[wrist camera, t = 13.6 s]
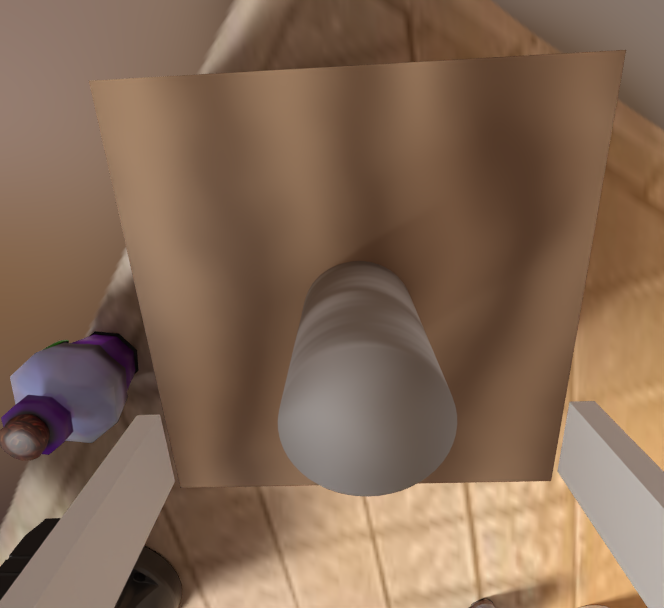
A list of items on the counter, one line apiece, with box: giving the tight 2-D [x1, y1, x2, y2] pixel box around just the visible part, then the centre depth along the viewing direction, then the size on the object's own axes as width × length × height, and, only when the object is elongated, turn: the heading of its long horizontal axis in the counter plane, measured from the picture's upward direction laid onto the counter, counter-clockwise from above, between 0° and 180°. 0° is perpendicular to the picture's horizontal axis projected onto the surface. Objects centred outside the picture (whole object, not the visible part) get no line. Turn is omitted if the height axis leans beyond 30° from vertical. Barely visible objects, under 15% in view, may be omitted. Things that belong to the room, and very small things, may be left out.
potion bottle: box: [0, 332, 138, 461], centre depth 34 cm, size 9×9×12 cm
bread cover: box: [89, 50, 626, 496], centre depth 25 cm, size 24×24×23 cm
